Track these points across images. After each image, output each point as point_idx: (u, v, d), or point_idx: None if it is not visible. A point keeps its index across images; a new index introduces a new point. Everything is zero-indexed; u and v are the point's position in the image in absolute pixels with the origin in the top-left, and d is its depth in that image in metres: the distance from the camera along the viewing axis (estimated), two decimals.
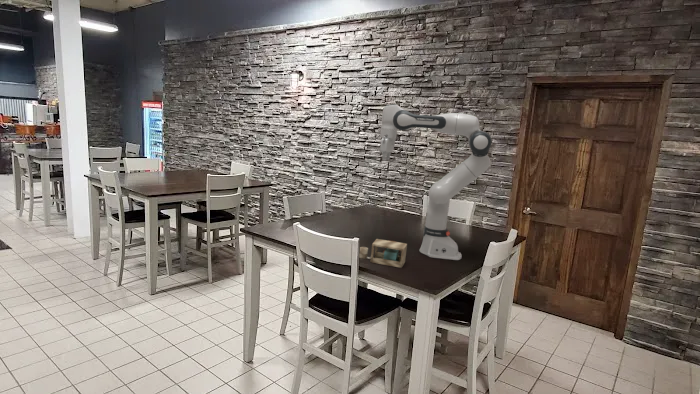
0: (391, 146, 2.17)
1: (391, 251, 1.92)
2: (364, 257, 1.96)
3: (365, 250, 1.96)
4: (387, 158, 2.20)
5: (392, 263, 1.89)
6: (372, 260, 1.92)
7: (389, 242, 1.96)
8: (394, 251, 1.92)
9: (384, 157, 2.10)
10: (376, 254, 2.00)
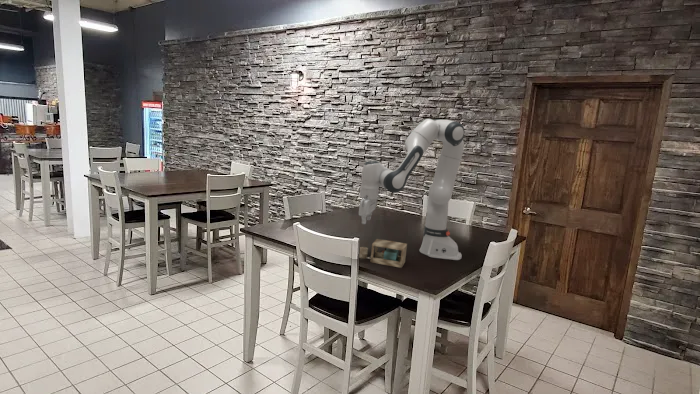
0: (372, 206, 1.96)
1: (391, 251, 1.92)
2: (364, 257, 1.96)
3: (365, 250, 1.96)
4: (368, 218, 1.99)
5: (392, 263, 1.89)
6: (372, 260, 1.92)
7: (389, 242, 1.96)
8: (394, 251, 1.92)
9: (364, 220, 1.89)
10: (376, 254, 2.00)
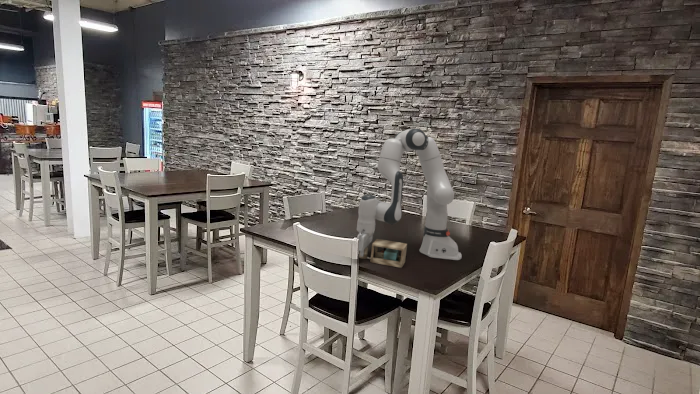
0: (369, 238, 1.99)
1: (391, 251, 1.92)
2: (364, 257, 1.96)
3: (365, 250, 1.96)
4: None
5: (392, 263, 1.89)
6: (372, 260, 1.92)
7: (389, 242, 1.96)
8: (394, 251, 1.92)
9: (362, 252, 1.94)
10: (376, 254, 2.00)
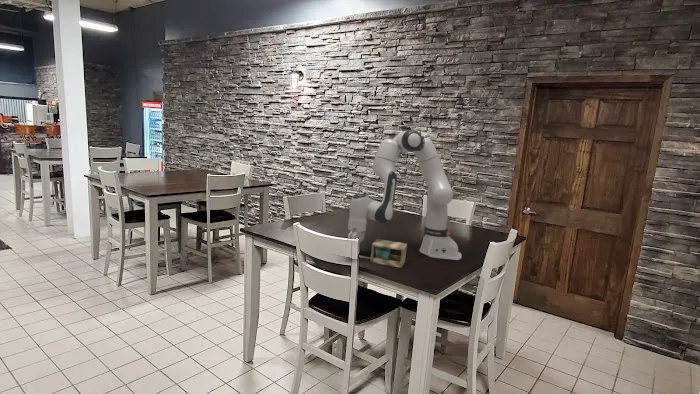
0: (360, 237, 2.00)
1: (383, 250, 1.93)
2: None
3: None
4: None
5: (392, 263, 1.89)
6: (372, 260, 1.92)
7: (389, 242, 1.96)
8: (386, 250, 1.93)
9: None
10: None
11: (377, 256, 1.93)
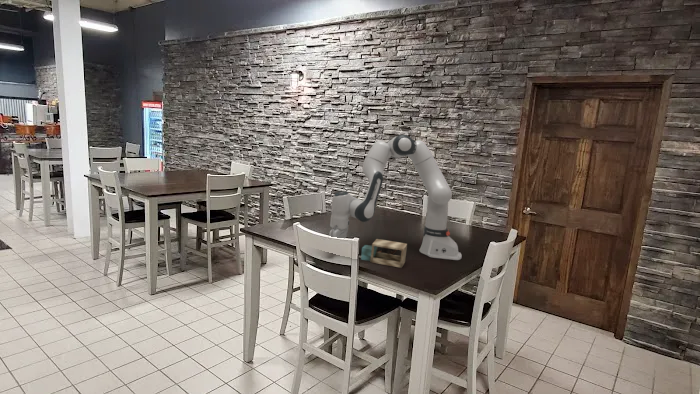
0: (343, 234, 2.03)
1: (369, 247, 1.95)
2: None
3: None
4: None
5: (392, 263, 1.89)
6: (372, 260, 1.92)
7: (389, 242, 1.96)
8: None
9: None
10: (376, 254, 2.00)
11: (363, 254, 1.95)
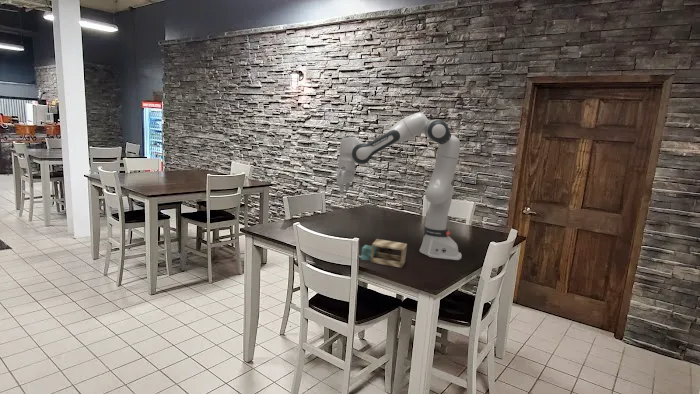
0: (350, 177, 2.16)
1: (369, 247, 1.95)
2: None
3: None
4: (346, 188, 2.19)
5: (392, 263, 1.89)
6: (372, 260, 1.92)
7: (389, 242, 1.96)
8: None
9: (341, 189, 2.09)
10: (376, 254, 2.00)
11: (363, 254, 1.95)
